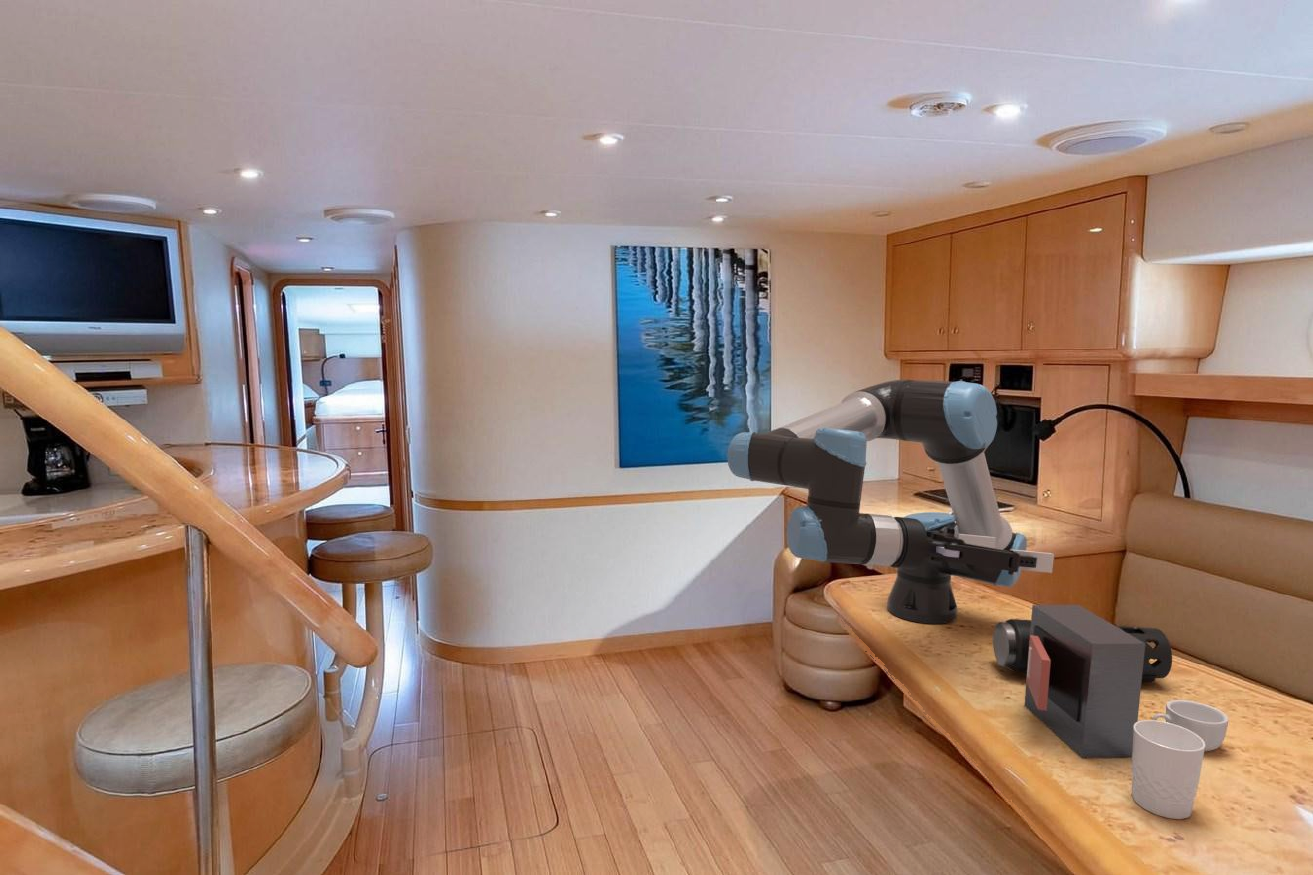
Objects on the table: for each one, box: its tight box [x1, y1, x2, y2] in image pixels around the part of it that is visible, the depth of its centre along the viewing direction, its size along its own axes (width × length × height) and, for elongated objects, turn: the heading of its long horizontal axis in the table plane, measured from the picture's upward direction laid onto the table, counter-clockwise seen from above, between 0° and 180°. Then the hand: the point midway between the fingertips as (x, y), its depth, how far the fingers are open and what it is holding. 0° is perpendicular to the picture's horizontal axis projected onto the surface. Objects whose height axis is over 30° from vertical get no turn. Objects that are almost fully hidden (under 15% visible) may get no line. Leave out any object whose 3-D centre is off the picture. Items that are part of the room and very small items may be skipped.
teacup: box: [1152, 699, 1229, 752], centre depth 114 cm, size 10×8×5 cm
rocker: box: [1025, 635, 1051, 711], centre depth 116 cm, size 10×1×8 cm, turn 162°
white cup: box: [1131, 719, 1205, 820], centre depth 98 cm, size 8×8×10 cm
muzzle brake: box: [992, 618, 1173, 682], centre depth 136 cm, size 10×28×10 cm, turn 83°
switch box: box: [1023, 604, 1145, 759], centre depth 116 cm, size 16×8×18 cm, turn 2°
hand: (1021, 553), depth 111 cm, fingers open, 13 cm apart
